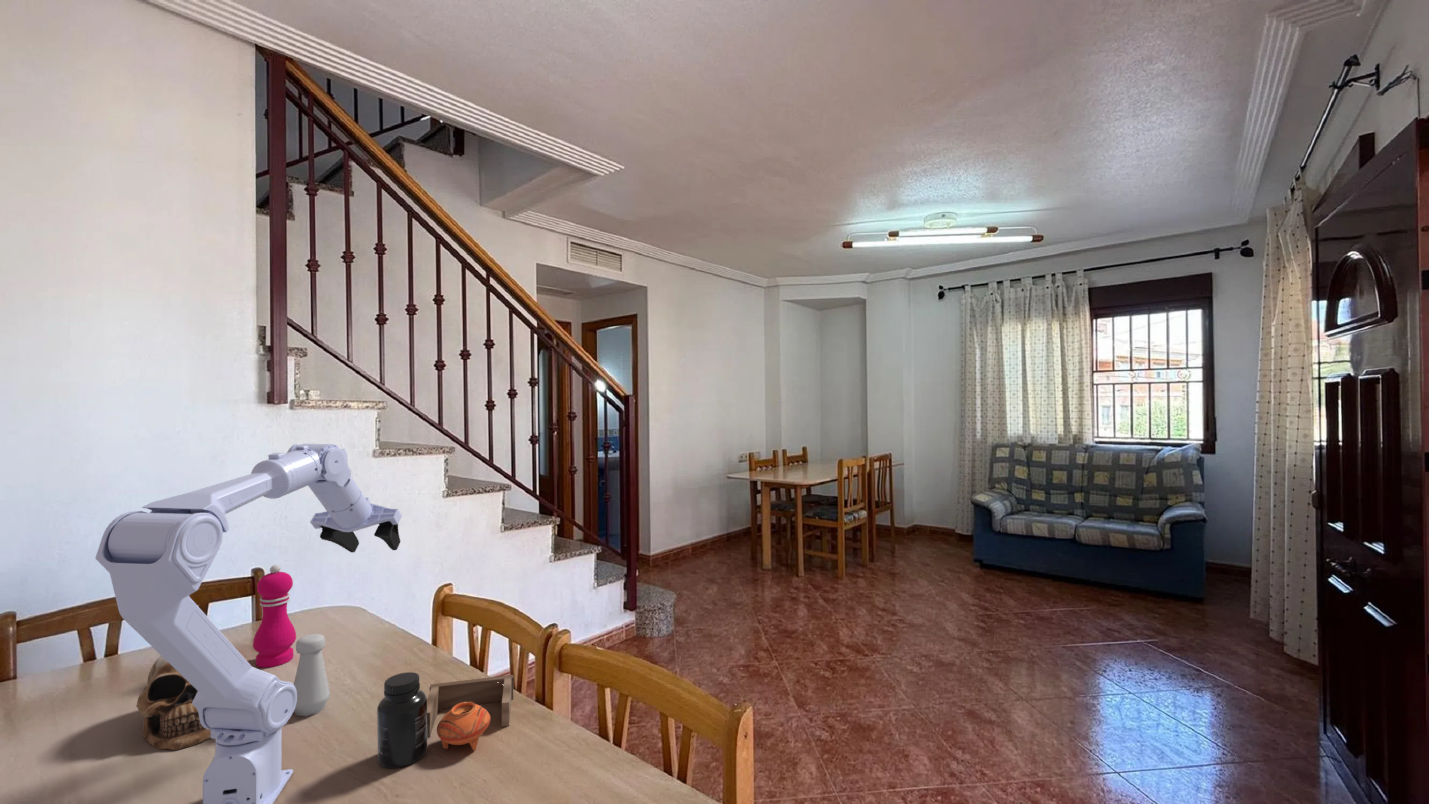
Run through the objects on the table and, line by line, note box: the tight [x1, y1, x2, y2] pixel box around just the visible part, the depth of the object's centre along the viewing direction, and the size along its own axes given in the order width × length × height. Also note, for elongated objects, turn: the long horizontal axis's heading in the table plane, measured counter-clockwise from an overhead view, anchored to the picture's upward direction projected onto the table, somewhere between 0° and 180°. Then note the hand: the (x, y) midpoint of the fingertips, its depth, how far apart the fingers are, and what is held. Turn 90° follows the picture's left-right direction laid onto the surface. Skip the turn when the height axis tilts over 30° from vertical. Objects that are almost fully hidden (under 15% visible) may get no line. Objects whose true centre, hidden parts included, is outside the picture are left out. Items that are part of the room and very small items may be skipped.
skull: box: [136, 655, 212, 751], centre depth 101 cm, size 16×17×13 cm
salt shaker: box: [293, 633, 331, 717], centre depth 104 cm, size 6×6×13 cm
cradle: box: [427, 674, 514, 738], centre depth 103 cm, size 10×14×4 cm
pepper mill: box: [252, 564, 297, 669], centre depth 123 cm, size 7×7×20 cm
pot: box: [436, 702, 492, 752], centre depth 95 cm, size 8×8×7 cm
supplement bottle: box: [376, 671, 428, 769], centre depth 91 cm, size 7×7×12 cm
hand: (376, 546), depth 109 cm, fingers open, 7 cm apart
